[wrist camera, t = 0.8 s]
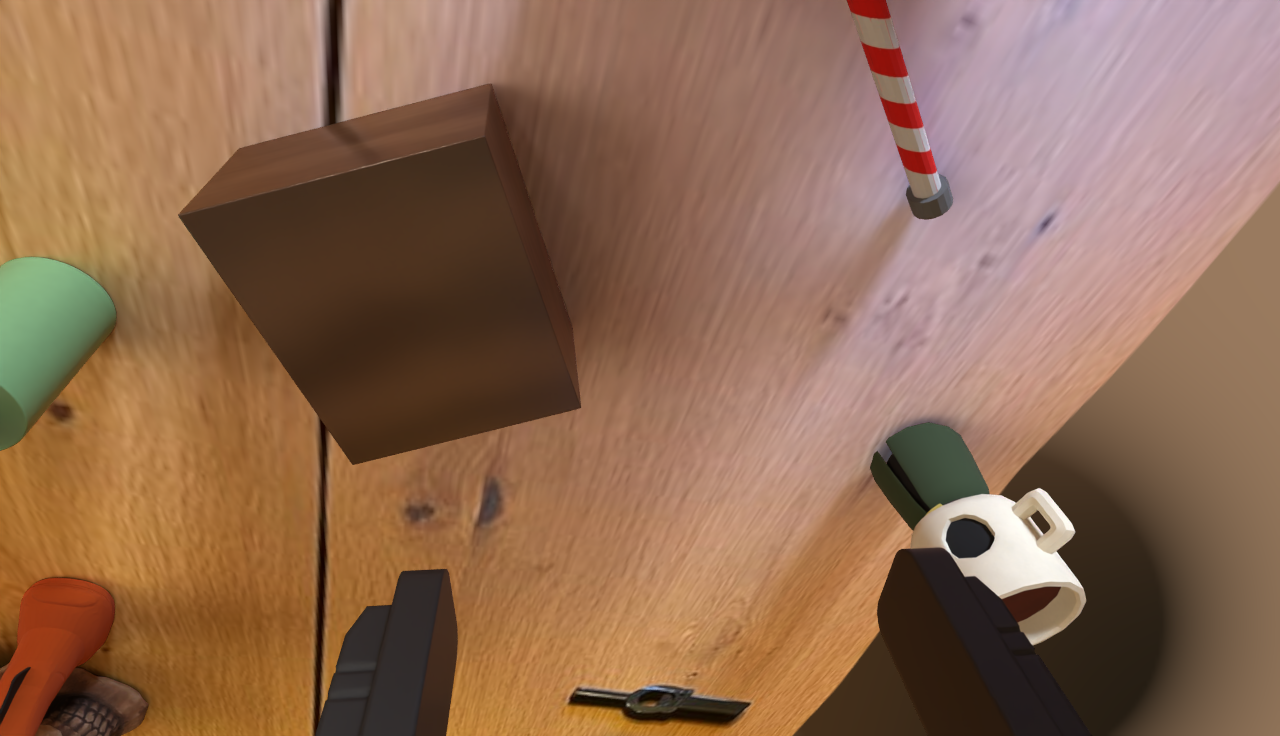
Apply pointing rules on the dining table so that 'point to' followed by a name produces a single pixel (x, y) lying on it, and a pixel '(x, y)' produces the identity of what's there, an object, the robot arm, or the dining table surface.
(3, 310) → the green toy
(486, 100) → the walnut block
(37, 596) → the toy drill
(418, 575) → the robot arm
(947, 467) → the character mug
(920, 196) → the toy hammer
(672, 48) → the dining table surface
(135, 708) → the coin bank
